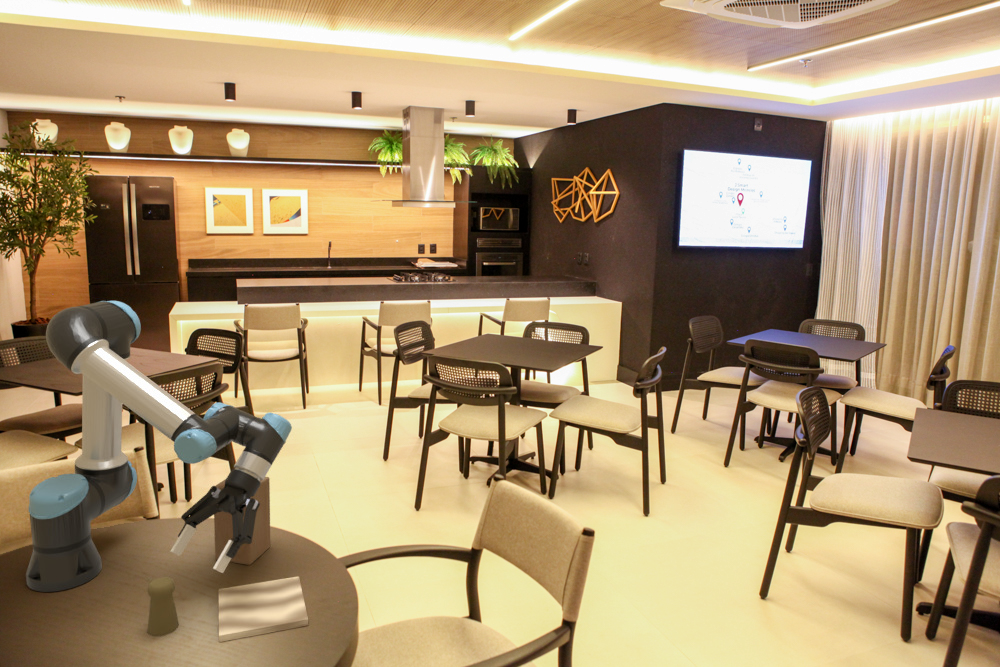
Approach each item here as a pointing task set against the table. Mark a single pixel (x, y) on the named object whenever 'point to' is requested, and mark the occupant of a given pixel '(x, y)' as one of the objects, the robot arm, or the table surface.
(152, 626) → the olive pawn
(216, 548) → the wooden block
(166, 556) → the table surface
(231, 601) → the birch board
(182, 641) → the table surface
